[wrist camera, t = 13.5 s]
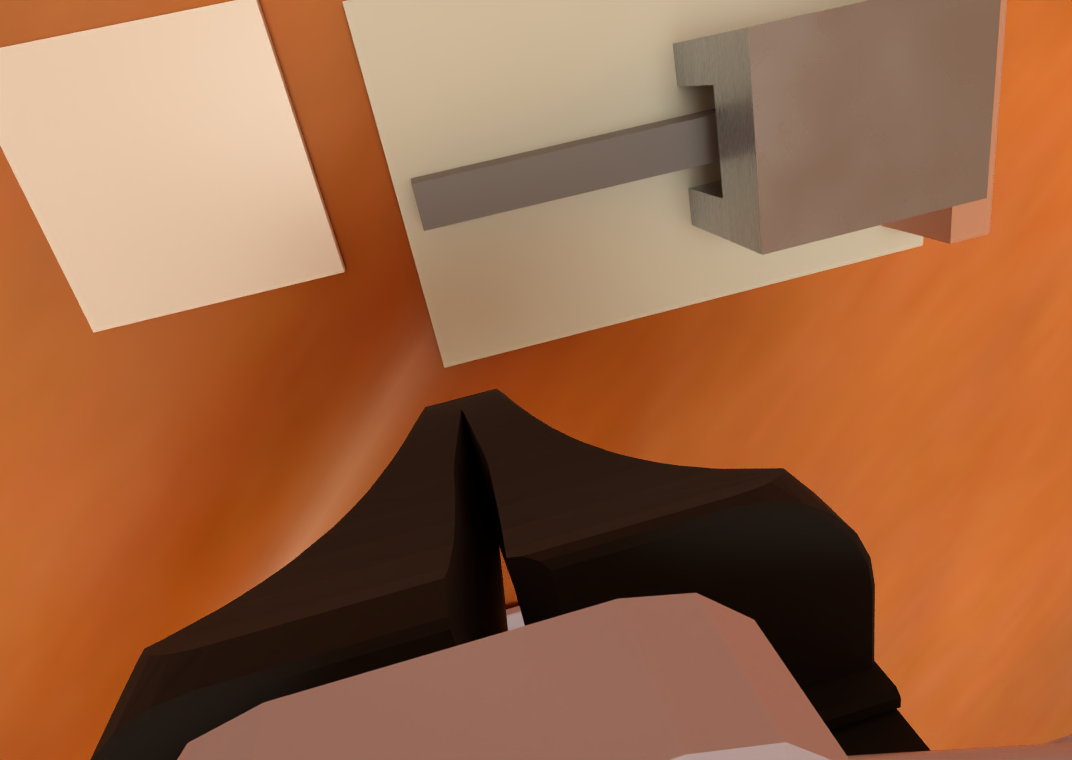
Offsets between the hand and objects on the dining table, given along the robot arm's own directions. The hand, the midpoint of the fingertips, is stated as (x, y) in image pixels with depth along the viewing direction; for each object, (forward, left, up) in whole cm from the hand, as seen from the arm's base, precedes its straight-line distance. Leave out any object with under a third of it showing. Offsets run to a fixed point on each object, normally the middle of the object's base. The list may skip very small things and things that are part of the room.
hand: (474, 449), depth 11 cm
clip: (+3, -11, -9) cm, 15 cm away
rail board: (+3, -7, -10) cm, 12 cm away
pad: (+5, +6, -10) cm, 13 cm away
